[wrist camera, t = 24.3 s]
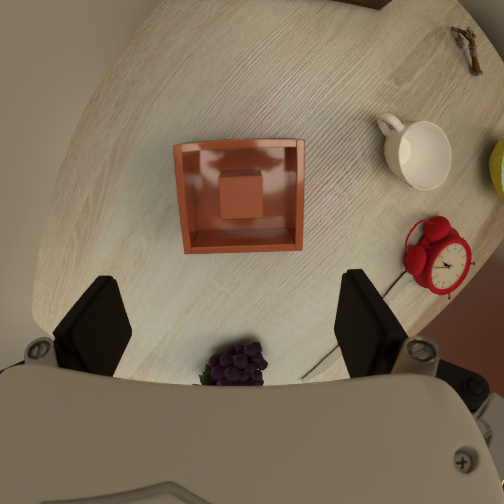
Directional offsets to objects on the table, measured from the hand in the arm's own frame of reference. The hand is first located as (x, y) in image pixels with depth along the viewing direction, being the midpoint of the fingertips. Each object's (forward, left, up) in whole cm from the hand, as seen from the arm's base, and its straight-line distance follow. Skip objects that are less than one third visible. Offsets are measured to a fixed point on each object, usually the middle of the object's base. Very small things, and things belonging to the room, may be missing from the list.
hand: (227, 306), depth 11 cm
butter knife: (+17, -23, -23) cm, 37 cm away
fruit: (-3, -28, -24) cm, 37 cm away
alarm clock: (+28, -9, -23) cm, 38 cm away
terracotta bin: (0, 0, -23) cm, 23 cm away
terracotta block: (0, 0, -23) cm, 23 cm away
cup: (+19, +6, -24) cm, 31 cm away
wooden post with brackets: (+33, +23, -24) cm, 47 cm away
